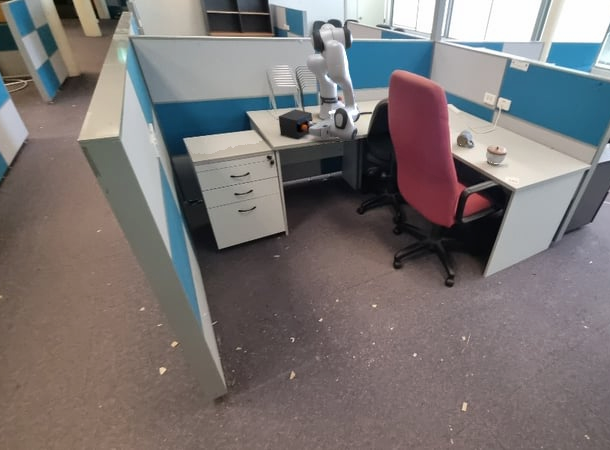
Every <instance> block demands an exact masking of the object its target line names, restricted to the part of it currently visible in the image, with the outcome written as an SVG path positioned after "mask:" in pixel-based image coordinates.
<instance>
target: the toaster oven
mask: <svg viewBox="0 0 610 450" xmlns="http://www.w3.org/2000/svg"><path fill="white" fill-rule="evenodd" d="M277 118H278V125H279V132H280V133H279V134H280V136H283V137H288V138H291V139H296V140H299V139H301V138H302V137H305V136H306V135H308V134H310V133H309V126H308V121H311V122H313V114H312V112H310V111H304V110H301V109H300V110H299V109H292V110H290V111H288V112H285V113H283V114H281V115H278V117H277ZM302 125H307V130H306V131H304V130H302Z"/></svg>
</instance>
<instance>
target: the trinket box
mask: <svg viewBox="0 0 610 450" xmlns="http://www.w3.org/2000/svg"><path fill="white" fill-rule="evenodd" d="M507 154H508V150H507V149H506V148H505V147H502V146H499V145H489V146H487V148H486V154H485V157H486V161H487V163H488V164H490V165H493V166H498V165H499V164H501V163H503V162H504V160H505V159H506V156H507ZM489 161H490V162H492V163H490V162H489ZM494 163H499V164H494Z"/></svg>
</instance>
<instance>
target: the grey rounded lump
mask: <svg viewBox="0 0 610 450" xmlns="http://www.w3.org/2000/svg"><path fill="white" fill-rule="evenodd" d="M472 139H473V134H472V132H470V131H469V130H463V131H461V132H460V133H459V134H458V136H457V137H456V143H457V145H459V144H461V145H459V146H460V147H464V146H463V145H465V146H467V147H468V148H474V146H475V142H474V141H473V140H472ZM471 143H472V144H471Z"/></svg>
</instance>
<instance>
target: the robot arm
mask: <svg viewBox="0 0 610 450" xmlns="http://www.w3.org/2000/svg"><path fill="white" fill-rule="evenodd" d="M310 43H311V46H312V48H313V50H314V51H316V52H317V53H313V54H310V55H309V56H308V57H307V59H306V66H307V69H308V70H309V72H310V73H312V74H313V75H314V76H315V78H316V79H317V81H318V85H319V92H320V93H319V94H320V95H319V105H320V107H319V114H318V118H320V119H322V120H320V121H319V122H314V121H312V123H310V127H309V133H308V134H309V135H311V136H314V137H318V138H319V137H321V138H322V139H328V138H337V139H340V140H344V141H354V139H356V137H357V135H358V128H357V126H356V124H355V123H356V122H358V121H359V119H360V117H361V115H364V114H366V115H367V114H373V113H372V112H373V111H364V112H363V111H362V112H360V108H359V106H358V104H357V100H356V95H355V90H354V86H353V81H352V78H351V75H350V71H349V61H348V57H347V53H346V51H347V50H350V49H351V48H352V45H353V35H352V32H351V30H350V29H349V28H348V27H344V26H343V27H336V26H334V25H333V24H331V23H324V24H322V25H321V27H320V28H319V29H314V30H313V31H312V32H311V35H310ZM338 86H339V87H340V89H341V90H342V94H343V97H341V96H339V95H338ZM343 100H344V103H343V102H342V101H343Z"/></svg>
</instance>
